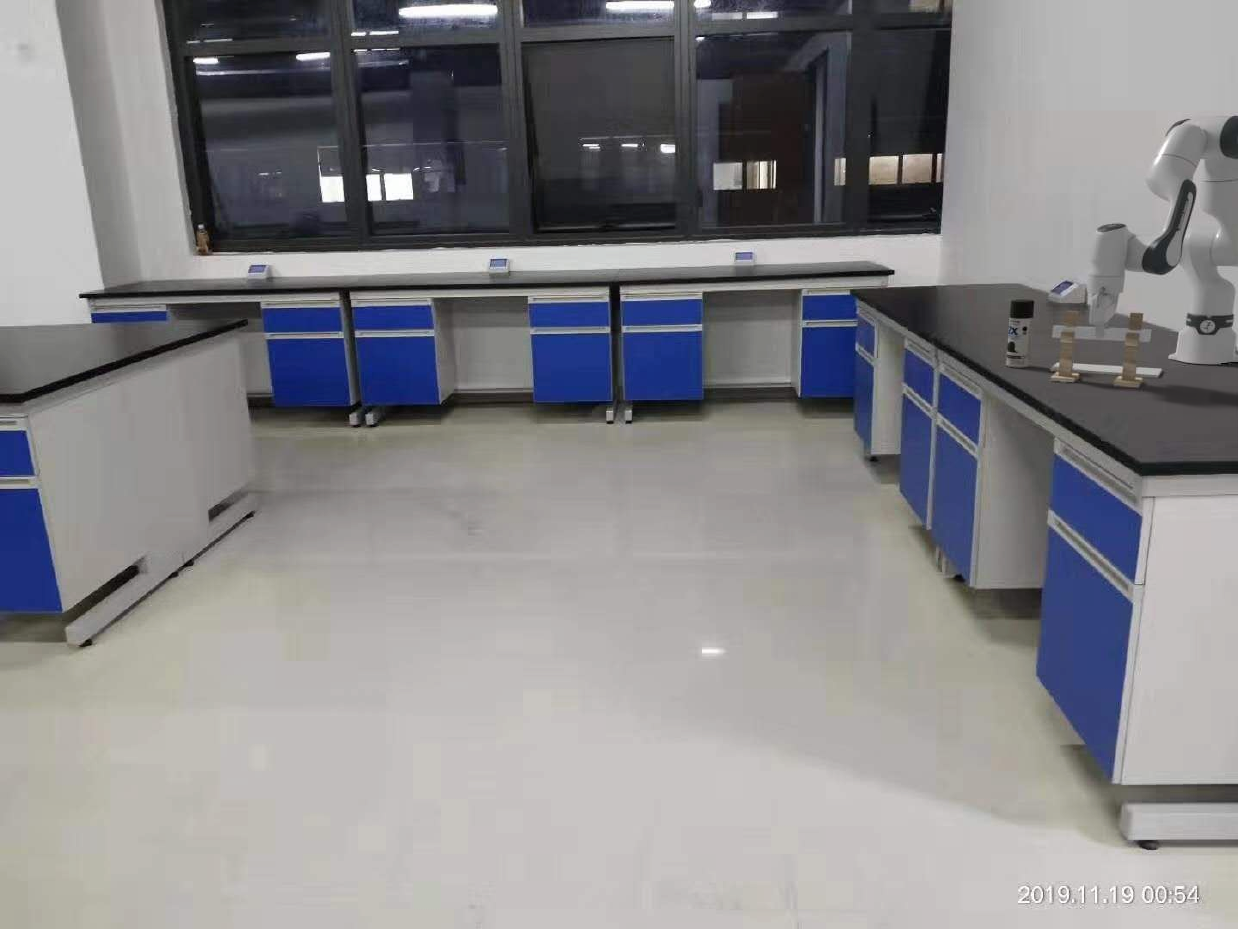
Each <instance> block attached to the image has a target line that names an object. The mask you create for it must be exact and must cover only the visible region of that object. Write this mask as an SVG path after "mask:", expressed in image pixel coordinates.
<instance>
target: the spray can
mask: <svg viewBox="0 0 1238 929" xmlns="http://www.w3.org/2000/svg"><path fill="white" fill-rule="evenodd" d="M1009 309H1010V310H1009V319H1008V320H1009V321H1008V336H1007V346H1006V347H1007V348H1006V361H1005V365H1007V366H1008V367H1007V366H1006V367H1007V368H1011V367H1013V368H1012V369H1026V368H1029V367H1030V363H1031V362H1030V361H1031V352H1032V351H1031V349H1032V338H1033V326H1034V325H1033V324H1034V313H1035V312H1034V311H1035V300H1034V299H1026V298H1025V299H1022V298H1021V299H1012V300H1011V301H1010V308H1009Z"/></svg>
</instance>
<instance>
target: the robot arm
mask: <svg viewBox="0 0 1238 929" xmlns="http://www.w3.org/2000/svg"><path fill="white" fill-rule="evenodd" d="M1201 160H1203V165H1202V169H1201V170H1202V172H1201V179H1200V180H1201V181H1200V194H1199V195H1200V196H1199V205H1200V208H1201V210H1202V211H1203V212H1204V214H1207V215H1209V216H1211V217H1213V218H1214V219H1215V221H1217V222H1218V225H1219V226H1217V227H1216V226H1197V227H1190V228H1188V227H1189V223H1190V221H1191V217H1192V213H1193V211H1194V210H1193V209H1194V206H1195V203H1196V199H1197V191H1198V189H1197V186H1196V183H1195V182H1193V180H1194V179H1193V178H1194V174H1195V172H1196V170H1197V168H1198V166H1199V164H1200V161H1201ZM1145 182H1146V185H1147V187H1148V188H1149V190H1150V191H1151V192H1152V193H1153V194H1154V195H1155V196H1157V197H1159V198H1160V199H1162V200H1165V201H1167V202H1169V209H1168V212H1167V216H1166V219H1165V222H1164V226H1163V229H1162V231H1161V232H1160V233H1158V234H1156V235H1140V234H1136V233H1133V232H1131V231H1130V230H1129V229H1128V226H1127V225H1126V224H1124V223H1120V222H1119V223H1117V222H1116V223H1110V224H1109V223H1108V224H1103V225H1100V226H1099V227H1097V228H1096V229H1095V232H1094V234H1093V238H1092V241H1091V247H1090V253H1089V261H1090V269H1089V271H1088V277H1087V286H1086V292H1087V294H1088V293H1089V294H1091V303H1090V310H1089V319H1088V321H1089V324H1090V325H1094V327H1095V338H1102V337H1103V333H1104V331H1103V329H1104V327H1108V324H1109V320H1110V319H1111V318H1113V316H1115V314H1116V311H1117V308H1118V301H1119V297H1120V294H1123V293H1124V287H1125V286H1124V285H1125V278H1126V271H1127V272H1132V273H1133V272H1135V273H1147V274H1152V275H1157V276H1164V275H1166V274H1169V273H1170V272H1172V271H1173V270H1174V269H1175V268H1176V267H1177V266H1178V265H1179V266H1180V267H1181V268H1182V269H1183V270H1184V272H1185V273H1186V275H1187V277H1188V282H1189V285H1190V296H1189V297H1190V298H1189V310H1188V312H1187V313H1186V317H1185V325H1186V326H1185V327H1184V328H1183V329H1181V331H1178V336H1177V344H1176V350H1175V352H1174V353H1171V354H1169V355H1168V360H1174V361H1180V362H1183V363H1188V364H1189V363H1190V364H1198V365H1222V364H1221V363H1227V362H1238V354H1237V353H1236V350H1237V348H1238V347H1237V338H1238V334H1237V333H1236V331H1234V329H1233V326H1234V320H1235V314H1234V306H1235V298H1236V288H1235V285H1234V284H1233V283H1232V282H1231V281H1229V280H1228V279H1226V278H1224V277H1223V276H1222V275H1221V274H1220V272H1219V270H1218V267H1238V115H1232V116H1230V115H1229V116H1228V115H1211V116H1205V117H1199V118H1192V119H1191V118H1185V119H1182V120H1179V121H1177V122H1175V123H1173V124H1171V126H1170V127H1169V129H1168V130H1167V131H1166V134H1165V137H1164V139H1163V140H1162V142H1161V144H1160V145H1159V147H1158V148H1157V150H1156V151H1155V154H1154V156H1153V158H1152V160H1151V162H1150V164H1149V166H1148V167H1147V170H1146V173H1145Z"/></svg>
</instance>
